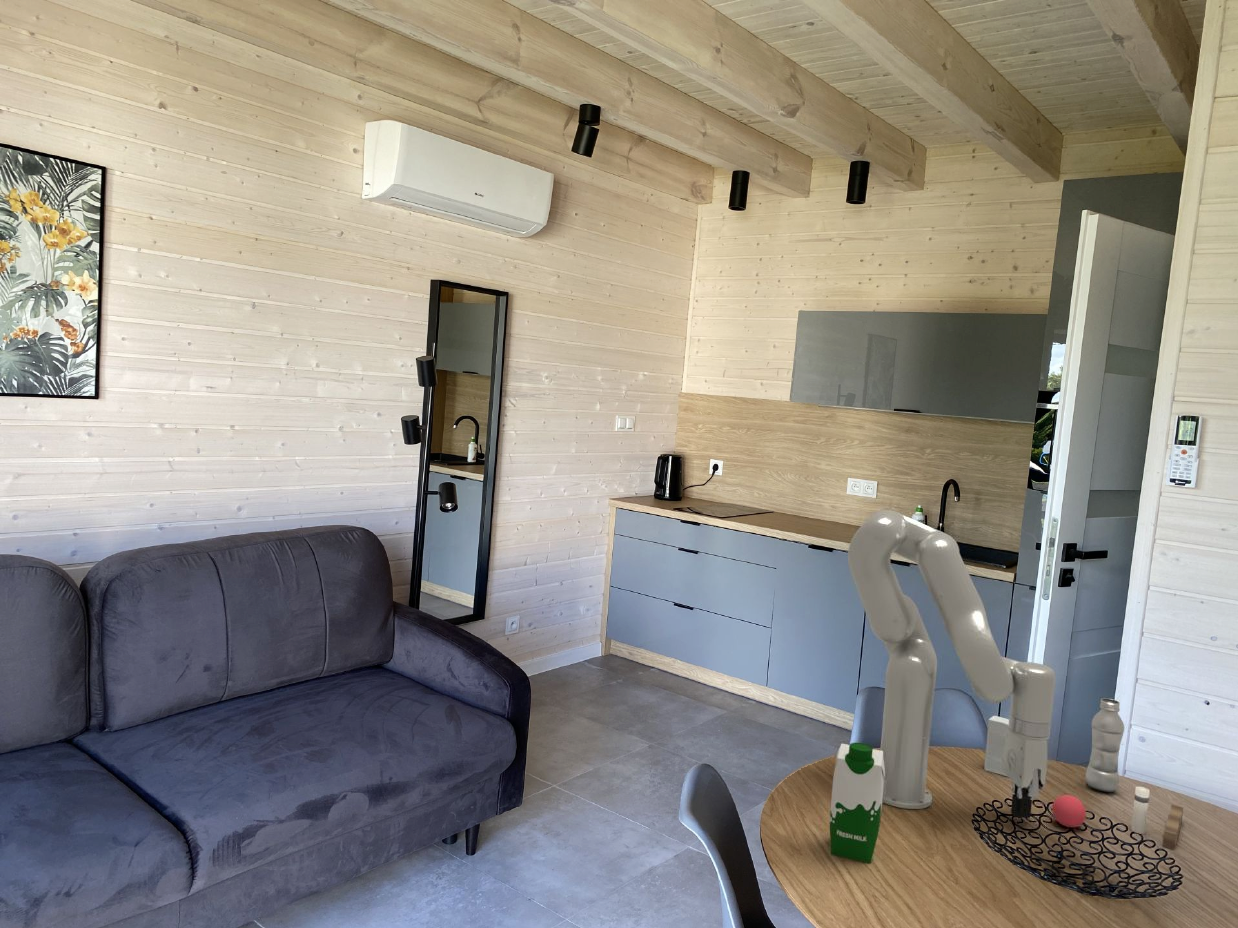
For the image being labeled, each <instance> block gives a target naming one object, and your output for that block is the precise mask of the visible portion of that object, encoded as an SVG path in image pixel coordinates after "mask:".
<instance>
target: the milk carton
mask: <svg viewBox="0 0 1238 928" xmlns="http://www.w3.org/2000/svg"><path fill="white" fill-rule="evenodd" d="M884 777H885V767H884V759H883V751H880V750H879V749H875V748H874V749H873V747H872V746H871V745H869V744H866V743H863V742H851V743H850V744H847V743H841V744H840V747H839V748H838V751H837V754H836V758H835V763H834V772H833V778H832V790H831V799H830V800H831V801H830V811H829V836H830V837H829V840H830V842H829V843H830V854H831V855H832V856H836V857H841V858H846V859H850V860H855V861H859V862H863V863H868V864H872V860H873V856H874V852H875V848H876V844H877V841H878V836H879V832H880V825H881V819H882V806H883V802H882V798H883V785H884Z"/></svg>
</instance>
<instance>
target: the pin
mask: <svg viewBox="0 0 1238 928" xmlns="http://www.w3.org/2000/svg"><path fill="white" fill-rule="evenodd" d="M1149 801H1150V789H1148V788H1146V787H1144V786H1138V785H1137V786H1135V790H1134V800H1133V809H1132V818H1131V819H1132V820H1131V829H1130V830H1131V831H1132V832H1134V833H1136V834H1140V835H1144V834H1145V833H1146V827H1147V817H1148V816H1147V815H1148V810H1149V809H1148V808H1149Z"/></svg>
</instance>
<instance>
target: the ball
mask: <svg viewBox="0 0 1238 928" xmlns="http://www.w3.org/2000/svg"><path fill="white" fill-rule="evenodd" d="M1051 809H1052V814H1053V817H1054V819H1055V820H1056V821H1057V822H1058V823H1059V824H1061V825H1062V826H1065V827H1066V828H1067V827H1068V828H1077V827H1079V826H1081V825H1082V824H1083V823H1084V822H1085V820H1086V816H1087V811H1086V808H1085V805H1084V804H1083V802H1082V801H1081V800H1080V799H1078V798H1077V797H1075V796H1073V795H1070V794H1064V795H1060V796H1058V797H1056V798H1055V800H1054V801H1053V803H1052V807H1051Z"/></svg>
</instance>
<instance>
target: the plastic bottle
mask: <svg viewBox="0 0 1238 928" xmlns="http://www.w3.org/2000/svg"><path fill="white" fill-rule="evenodd" d="M1099 708H1100V710H1099V711H1098V712H1097V713H1096V714H1095V715H1094V716H1093V718H1092V720H1091V736H1092V737H1091V738H1092V739H1091V753H1090V757H1089V762H1088V765H1087V767H1086V772H1085V780H1086V783H1087V784H1088V786H1089V787H1091V788H1093V789H1094V790H1097V791H1101V792H1107V793H1113V792H1114V791H1116V790H1117V789H1118V786H1119V784H1120V783H1119V782H1120V777H1119V754H1120V748H1121V743H1122V739H1123V736H1124V732H1125V723H1124V722H1123V720H1122V717H1121V715H1120V714H1119V712H1120V702H1119V701H1117V700H1116V699H1112V698H1107V697H1106V698H1101V699H1100V705H1099Z"/></svg>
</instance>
